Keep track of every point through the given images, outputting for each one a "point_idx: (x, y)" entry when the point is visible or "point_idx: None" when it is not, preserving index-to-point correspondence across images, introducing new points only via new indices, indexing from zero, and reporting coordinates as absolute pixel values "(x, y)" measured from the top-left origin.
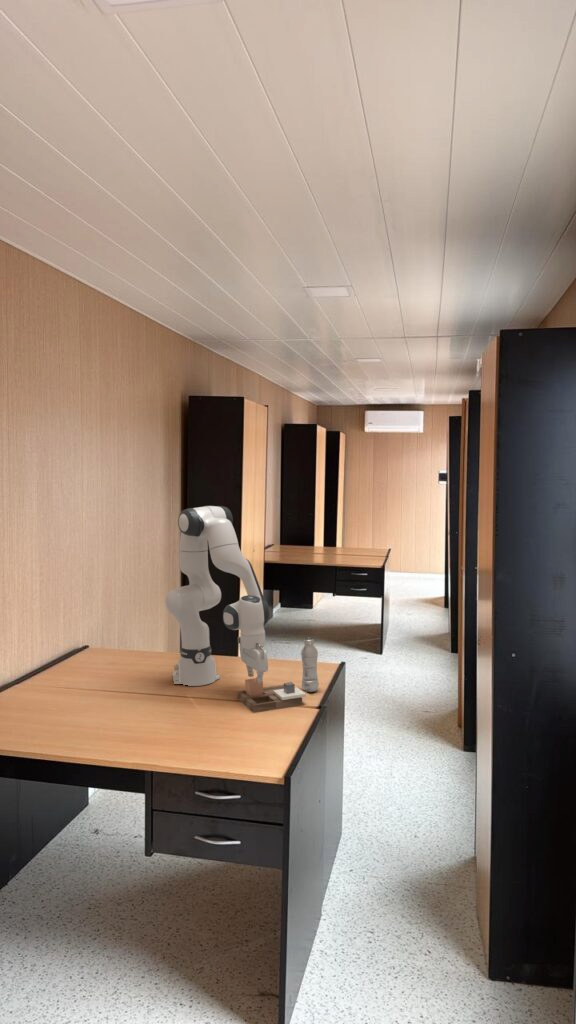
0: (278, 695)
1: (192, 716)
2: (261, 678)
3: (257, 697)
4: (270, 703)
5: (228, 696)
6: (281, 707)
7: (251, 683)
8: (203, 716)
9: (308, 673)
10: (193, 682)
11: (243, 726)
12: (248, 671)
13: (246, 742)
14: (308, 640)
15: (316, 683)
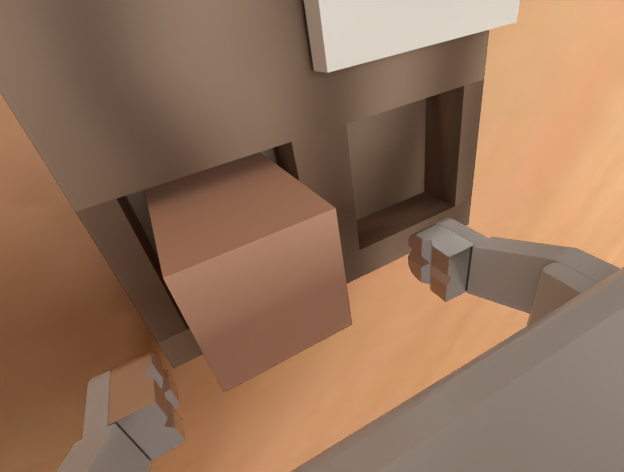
0: (446, 39)
1: (348, 418)
2: (479, 242)
3: (354, 209)
4: (476, 121)
5: (44, 397)
6: None
7: (346, 307)
8: (360, 387)
9: None
10: None
11: (501, 234)
12: (151, 462)
13: (592, 213)
14: None
15: None
